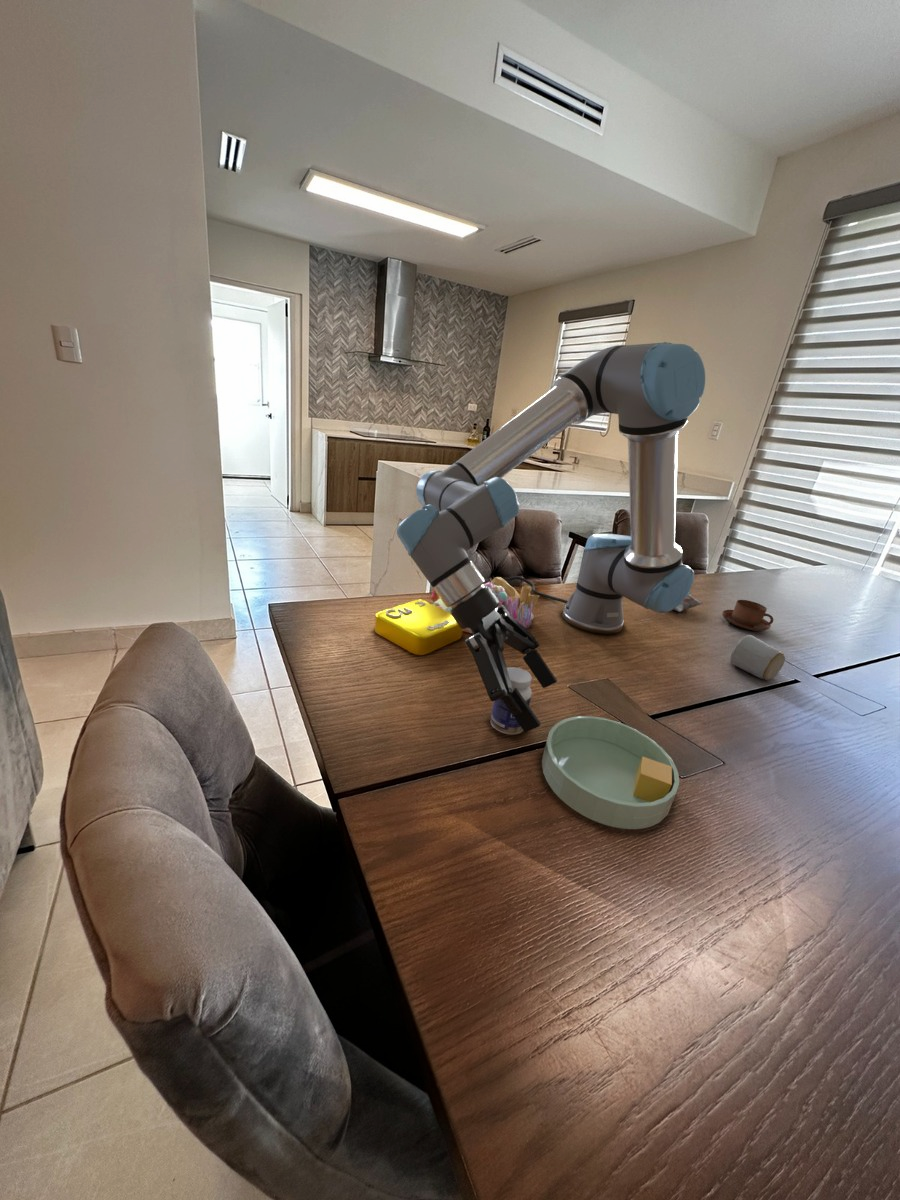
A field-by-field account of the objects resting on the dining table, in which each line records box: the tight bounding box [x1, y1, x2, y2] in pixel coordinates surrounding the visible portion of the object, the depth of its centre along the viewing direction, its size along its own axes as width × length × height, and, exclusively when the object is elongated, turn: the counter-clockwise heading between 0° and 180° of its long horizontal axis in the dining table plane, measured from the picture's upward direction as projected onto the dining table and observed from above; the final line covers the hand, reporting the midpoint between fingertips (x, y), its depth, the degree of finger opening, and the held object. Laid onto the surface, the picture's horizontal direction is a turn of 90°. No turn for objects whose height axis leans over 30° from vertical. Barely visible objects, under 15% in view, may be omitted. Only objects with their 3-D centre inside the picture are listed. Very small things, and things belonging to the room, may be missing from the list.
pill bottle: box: [490, 666, 533, 735], centre depth 76 cm, size 6×6×10 cm
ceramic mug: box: [730, 634, 786, 681], centre depth 105 cm, size 11×8×8 cm
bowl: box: [541, 715, 680, 830], centre depth 68 cm, size 18×18×4 cm
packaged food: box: [672, 592, 703, 613], centre depth 138 cm, size 9×12×5 cm
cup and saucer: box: [722, 599, 774, 632], centre depth 131 cm, size 12×12×6 cm
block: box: [633, 756, 672, 802], centre depth 66 cm, size 4×4×4 cm
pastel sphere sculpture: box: [430, 576, 540, 634], centre depth 117 cm, size 25×24×9 cm
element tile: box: [374, 599, 464, 656], centre depth 104 cm, size 15×15×5 cm
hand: (542, 704), depth 76 cm, fingers open, 13 cm apart
